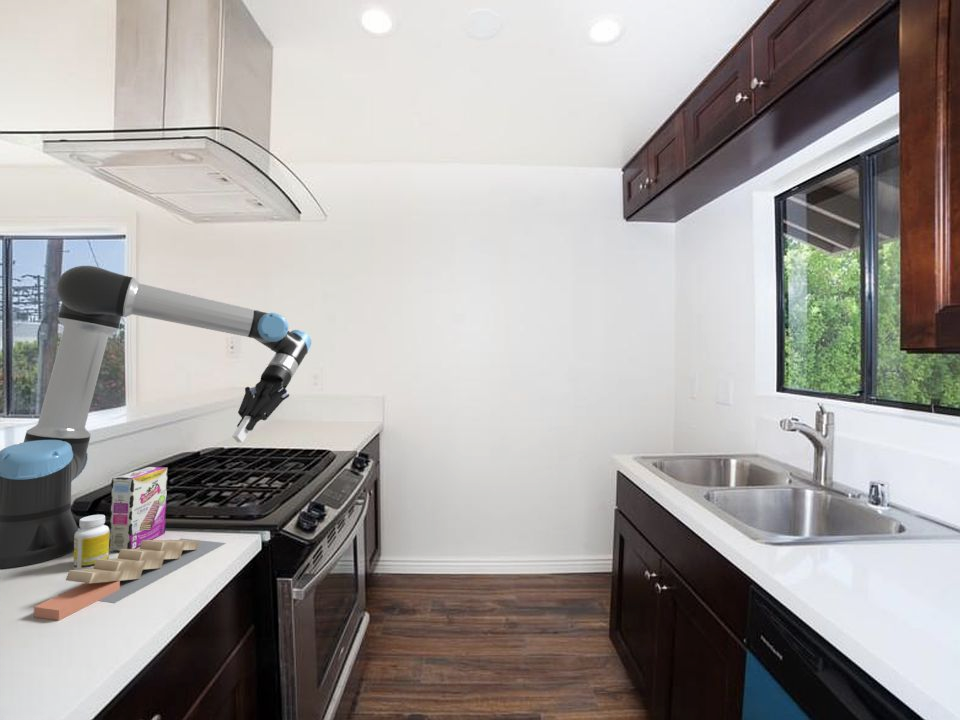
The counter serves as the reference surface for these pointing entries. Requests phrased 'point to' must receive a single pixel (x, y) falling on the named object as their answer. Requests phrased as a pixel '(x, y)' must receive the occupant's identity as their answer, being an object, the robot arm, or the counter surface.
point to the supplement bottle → (91, 542)
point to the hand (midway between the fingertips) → (237, 439)
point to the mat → (160, 571)
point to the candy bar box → (138, 507)
